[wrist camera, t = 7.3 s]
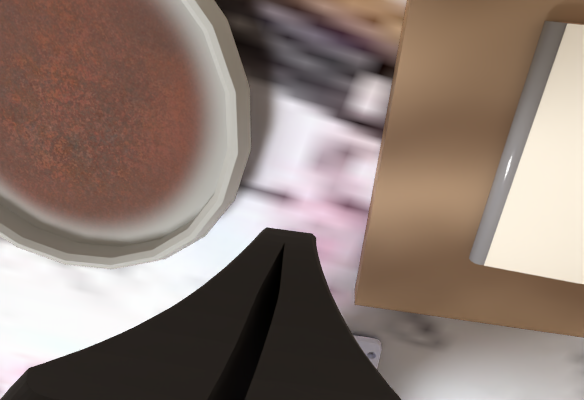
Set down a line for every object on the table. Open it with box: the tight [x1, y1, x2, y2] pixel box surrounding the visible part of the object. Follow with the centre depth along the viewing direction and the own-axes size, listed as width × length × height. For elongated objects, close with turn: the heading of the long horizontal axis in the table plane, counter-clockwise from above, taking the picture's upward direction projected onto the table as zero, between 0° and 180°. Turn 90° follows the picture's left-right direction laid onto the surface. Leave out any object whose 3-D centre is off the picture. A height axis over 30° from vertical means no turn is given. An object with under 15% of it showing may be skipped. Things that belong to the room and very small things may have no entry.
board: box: [355, 0, 584, 337], centre depth 18 cm, size 18×16×1 cm
